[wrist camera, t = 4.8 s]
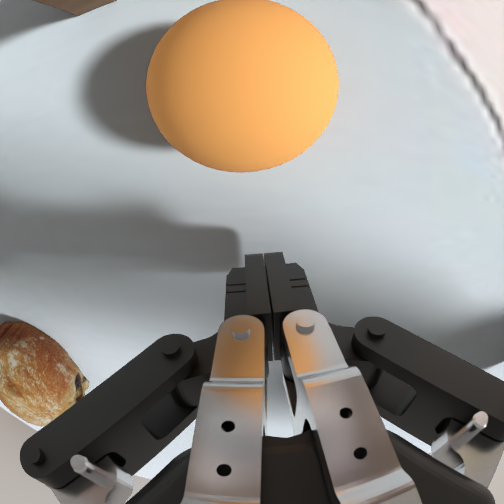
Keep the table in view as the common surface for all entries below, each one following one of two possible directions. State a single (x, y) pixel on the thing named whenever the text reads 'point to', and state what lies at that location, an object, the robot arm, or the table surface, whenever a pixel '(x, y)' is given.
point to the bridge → (75, 5)
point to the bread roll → (37, 374)
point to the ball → (242, 85)
